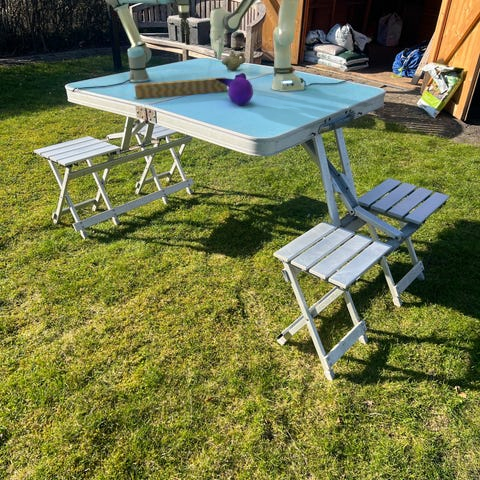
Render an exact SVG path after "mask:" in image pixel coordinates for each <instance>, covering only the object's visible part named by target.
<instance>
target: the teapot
mask: <svg viewBox="0 0 480 480" xmlns="http://www.w3.org/2000/svg"><path fill="white" fill-rule="evenodd" d="M240 58H241V59H240ZM245 62H246V56H245V54H244V52H242V51H241V52H239V53H238V54H236V53H235V51H234V50H231V51H230V53H229V56H225V57H223V58H221V64H222V65H224V66H225V67H226V69H227V70H228V71H236V70H238V69H239V68H240V67H241V65H243V64H244V63H245Z"/></svg>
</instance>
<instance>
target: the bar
mask: <svg viewBox="0 0 480 480" xmlns="http://www.w3.org/2000/svg"><path fill="white" fill-rule="evenodd" d="M216 78H217V77H209V78H195V79H194V78H193V79H181V80H170V81H169V80H168V81H158V82H143V83H133V86H134V94H135V99H136V100H146V99H155V98H157V99H158V98H166V97H167V98H168V97H178V96H179V97H181V96H188V95H189V96H190V95H203V94H214V93H224V92H227V93H228V86H227V85H225V84H223V83H221V82H219V81H218V80H216ZM218 78H226V76H221V77H220V76H219V77H218Z"/></svg>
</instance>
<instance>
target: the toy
mask: <svg viewBox="0 0 480 480" xmlns="http://www.w3.org/2000/svg"><path fill="white" fill-rule="evenodd" d="M215 78H216V80H218V81H219V82H221V83H223V84H225V85H227V93H228V97H229V100H230V101H231V102H232V103H233V104H235V105H238V106H243V105H247V104H248V103H249V102H250V101H251V100H252V98H253V96H254V88H253V84H252V83H251V81H250V80H249V79H247V75H246V74H245V73H243V72H241V73H238V74H236V75H235V76H234V78H227V77H225V78H219V77H215Z"/></svg>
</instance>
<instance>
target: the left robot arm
mask: <svg viewBox="0 0 480 480" xmlns="http://www.w3.org/2000/svg"><path fill="white" fill-rule="evenodd" d="M104 1H105V3H107V5H110V6H112V9H113V11H115V12H117V15H118V17H119V19H120V22H121V24H122V27H123V29H124V31H125V33H126V35H127V37H128V40H129V43H130V44H131V46H130V47H129V48H128V49H127V56H128V66H129V76H128V79H127V80H125V81H123V82H118V83H113V84H107V85H99V86H98V85H95V86H83V87H75V88H73V89H72V93H73V92H75V90H83V89H95V88H96V89H97V88H108V87H114V86H118V85H119V86H120V85H123V84H125V83H128V82H129V83H133V84H143V83H149V82H150V76H149V74H148V71H147V67H146V64H147V63H149V62H150V60H151V58H152V50H151V49H150V48H149V47H148V46H147V44H146V41H144V40H143V39H142V37H141V34H140V32H139V30H138V28H137V25H136V23H135V20H134V18H133V16H132V13H131V11H130V8H129V4H157V5H158V4H160V5H161V4H162V5H167V4H170V3H171V4H175V3H177V9H178V18H179V19H180V36H181V44H185V45H186V46H190V45H191V39H190V35H191V31H190V30H191V29H190V24H189V23H190V22H189V20H188V19H189V18H190V3H189V0H104ZM77 88H78V89H77Z"/></svg>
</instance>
